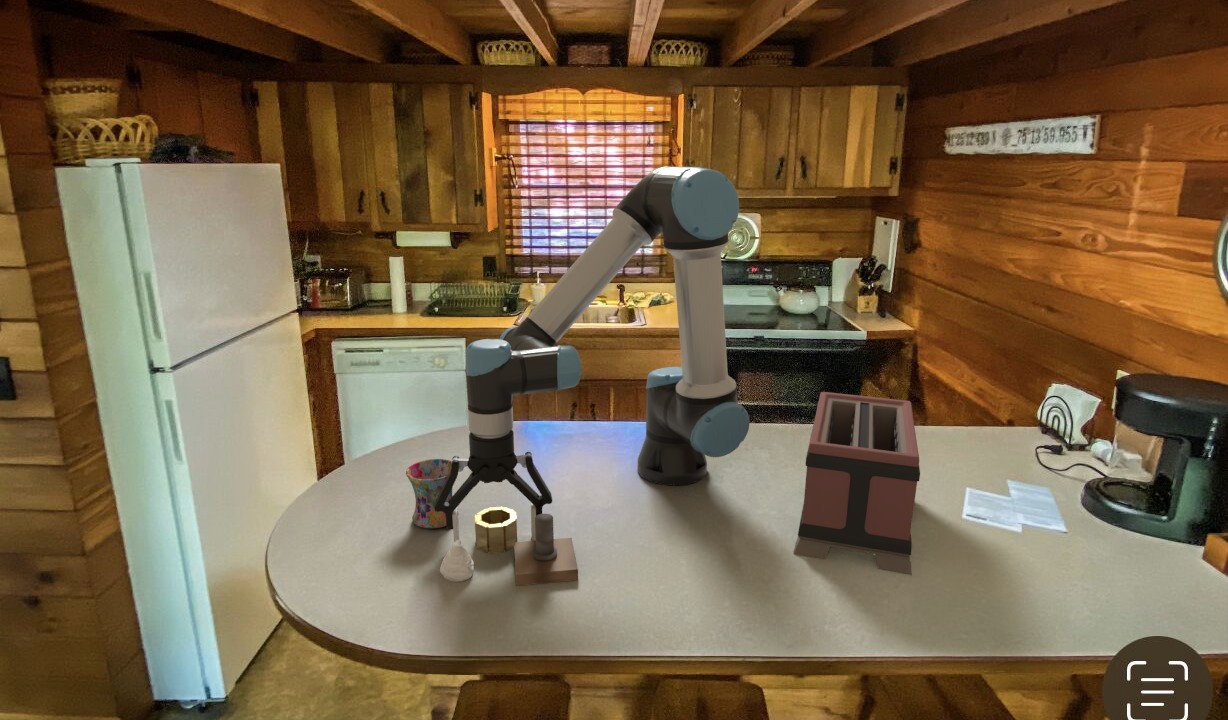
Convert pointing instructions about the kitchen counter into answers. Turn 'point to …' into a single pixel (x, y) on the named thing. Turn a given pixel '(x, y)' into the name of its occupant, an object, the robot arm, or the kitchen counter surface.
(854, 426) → the toaster
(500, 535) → the ring
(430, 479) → the mug
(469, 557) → the garlic bulb
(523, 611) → the kitchen counter surface
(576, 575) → the shaft block
